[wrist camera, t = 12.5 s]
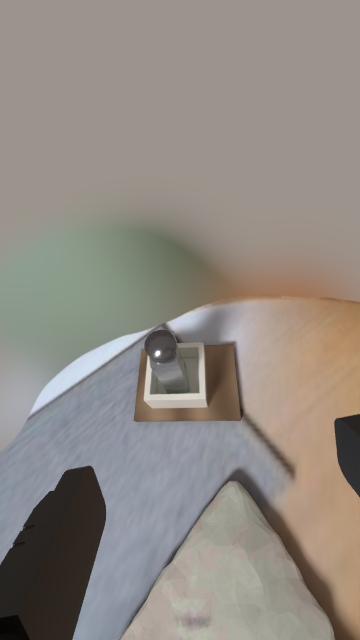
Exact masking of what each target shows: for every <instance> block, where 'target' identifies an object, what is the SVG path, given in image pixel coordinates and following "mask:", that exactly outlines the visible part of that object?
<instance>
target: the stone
mask: <svg viewBox="0 0 360 640" xmlns="http://www.w3.org/2000/svg"><path fill="white" fill-rule="evenodd" d="M228 551H229V552H228ZM120 640H335V636H334V631H333V628H332V625H331V622H330V619H329V618H328V616H327V615H326V613H325V612H324V610H323V609H322V608H321V606H320V605H319V604H318V602H317V601H316V599H315V598H314V597H313V595H312V594H311V592H310V591H309V589H308V588H307V586H306V584H305V582H304V580H303V578H302V575H301V573H300V570H299V568H298V567H297V565H296V564H295V562H294V560H293V559H292V557H291V556H290V555H289V553H288V552H287V550H286V548H285V546H284V544H283V542H282V540H281V538H280V537H279V535H278V534H277V533H276V532H275V531H274V530H273V529H272V527H271V526H270V525H269V523H268V522H267V520H266V519H265V517H264V516H263V514H262V512H261V511H260V509H259V507H258V506H257V504H256V503H255V501H254V500H253V499H252V497H251V496H250V494H249V493H248V492H247V490H246V489H245V488H244V487H243V486H242V485H241V484H240V483H239V482H238V481H229V482H228V483H227V484H226V485H225V486H223V487H222V488H221V489H220V491H219V492H218V494H217V495H216V497H215V498H214V500H213V501H212V502H211V503H210V504H209V505H208V506H207V508H206V509H205V510H204V512H203V513H202V515H201V516H200V518H199V519H198V521H197V522H196V524H195V525H194V527H193V528H192V530H191V531H190V533H189V534H188V536H187V538H186V539H185V541H184V543H183V544H182V545H181V547H180V548H179V550H178V551H177V553H176V555H175V557H174V559H173V560H172V562H171V563H170V564H169V565H168V566H167V567H165V568H164V569H163V570H162V572H161V574H160V575H159V577H158V579H157V581H156V582H155V584H154V586H153V588H152V590H151V592H150V594H149V596H148V598H147V600H146V601H145V603H144V605H143V606H142V608H141V609H140V611H139V612H138V613H137V615H136V616H135V618H134V619H133V621H132V623H131V624H130V625H129V627H128V628H127V629H126V631H125V632H124V633H123V635H122V636H121V638H120Z"/></svg>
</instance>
